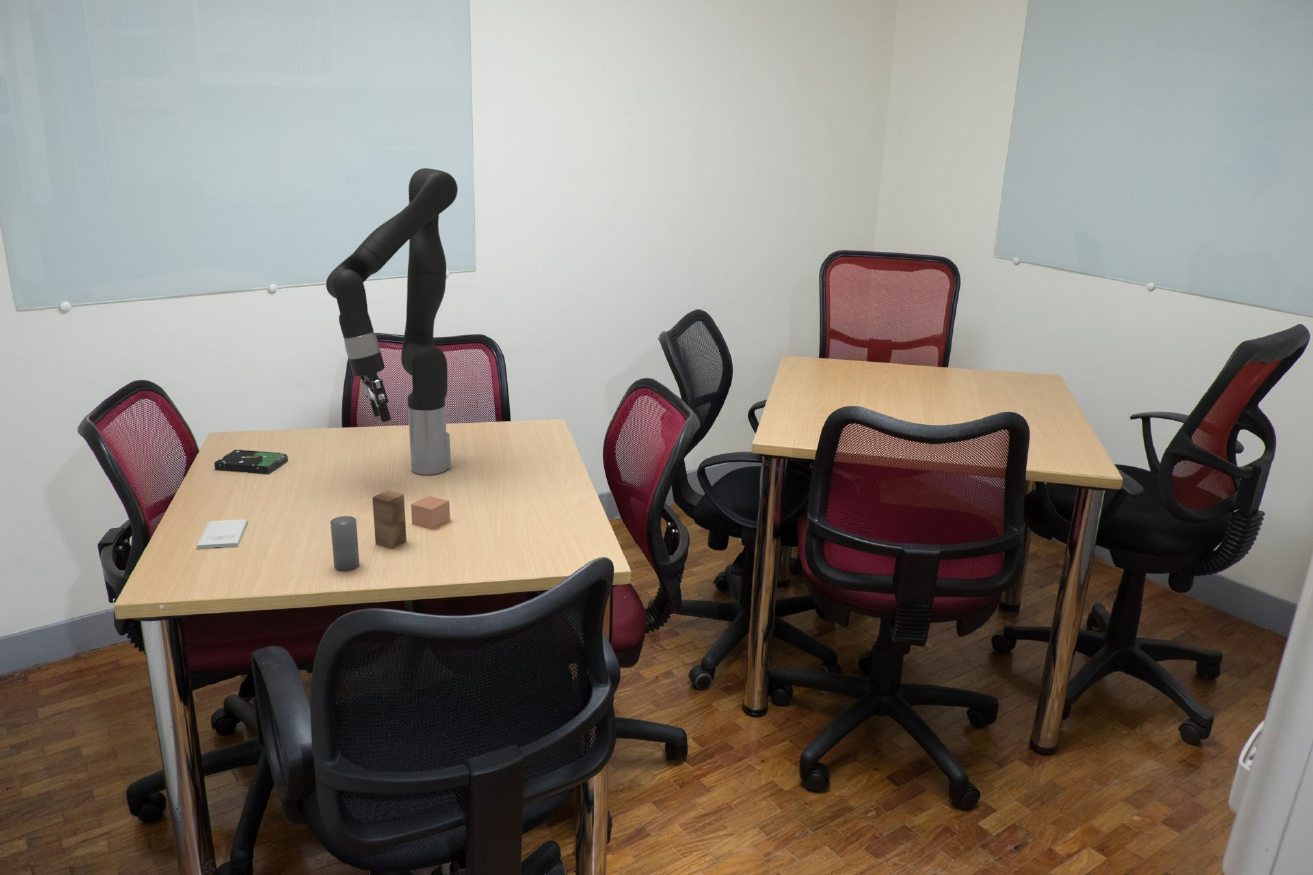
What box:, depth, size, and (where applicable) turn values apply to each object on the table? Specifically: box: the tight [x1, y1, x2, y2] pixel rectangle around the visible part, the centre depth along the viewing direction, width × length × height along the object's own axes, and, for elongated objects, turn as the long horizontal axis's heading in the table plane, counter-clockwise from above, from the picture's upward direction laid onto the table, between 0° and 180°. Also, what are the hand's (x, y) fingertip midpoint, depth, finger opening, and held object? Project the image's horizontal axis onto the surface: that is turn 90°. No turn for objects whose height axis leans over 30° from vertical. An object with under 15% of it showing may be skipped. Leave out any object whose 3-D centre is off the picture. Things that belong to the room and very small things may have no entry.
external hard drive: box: [196, 518, 248, 550], centre depth 218 cm, size 2×8×12 cm
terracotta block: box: [410, 495, 451, 531], centre depth 227 cm, size 6×6×5 cm
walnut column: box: [371, 489, 407, 550], centre depth 215 cm, size 5×5×11 cm
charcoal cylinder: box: [329, 515, 360, 572], centre depth 205 cm, size 5×5×10 cm
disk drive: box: [214, 449, 289, 475], centre depth 259 cm, size 10×3×15 cm
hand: (382, 418), depth 241 cm, fingers open, 8 cm apart
